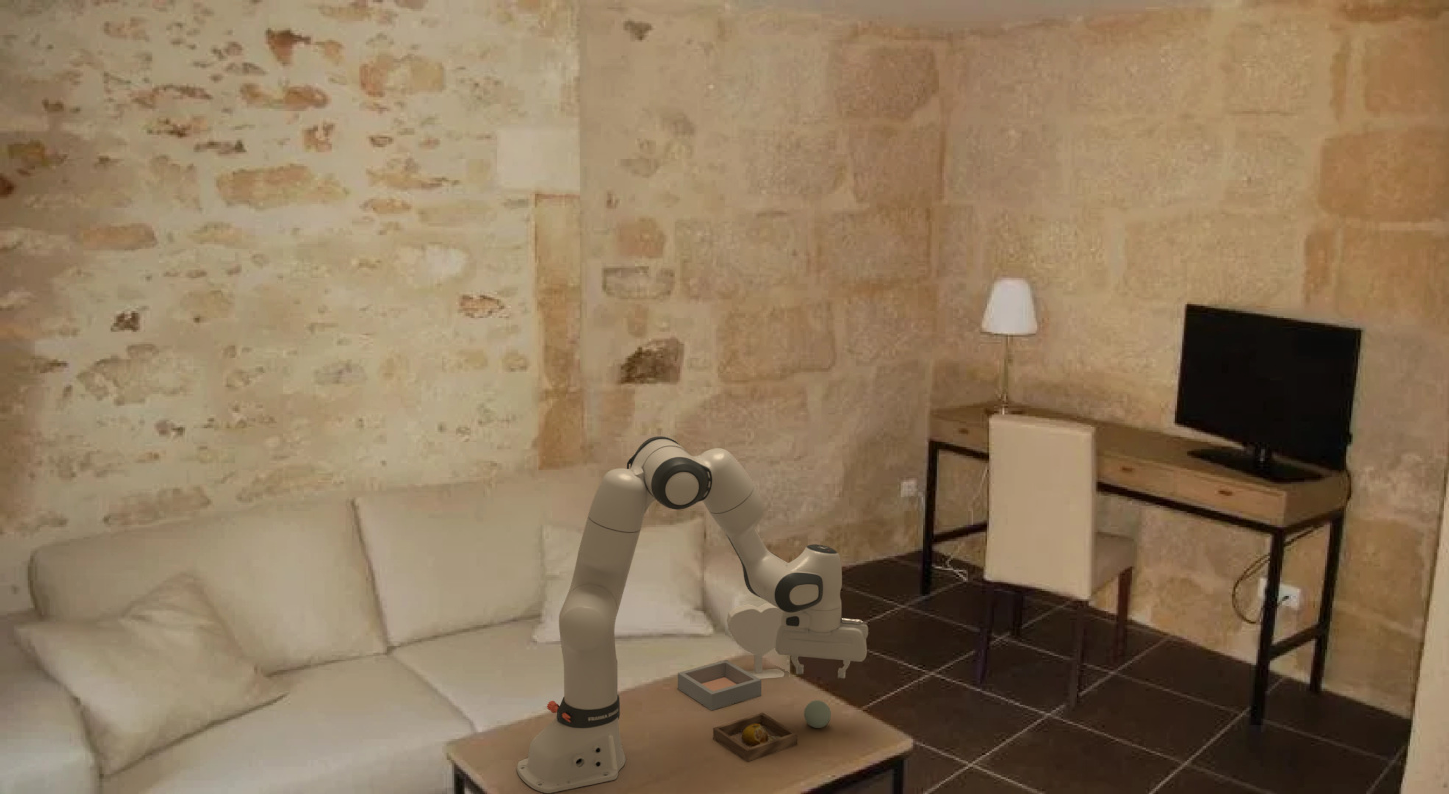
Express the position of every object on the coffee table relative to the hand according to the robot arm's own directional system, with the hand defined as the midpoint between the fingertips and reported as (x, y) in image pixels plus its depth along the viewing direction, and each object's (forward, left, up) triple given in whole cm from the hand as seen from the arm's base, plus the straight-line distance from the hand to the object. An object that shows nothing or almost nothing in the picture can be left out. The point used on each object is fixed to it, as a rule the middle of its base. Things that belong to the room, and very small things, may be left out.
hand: (820, 675), depth 251 cm
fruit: (-15, +1, -13) cm, 20 cm away
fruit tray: (-16, +2, -12) cm, 20 cm away
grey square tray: (-8, +27, -12) cm, 31 cm away
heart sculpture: (+6, +30, -13) cm, 33 cm away
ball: (0, 0, -9) cm, 9 cm away
